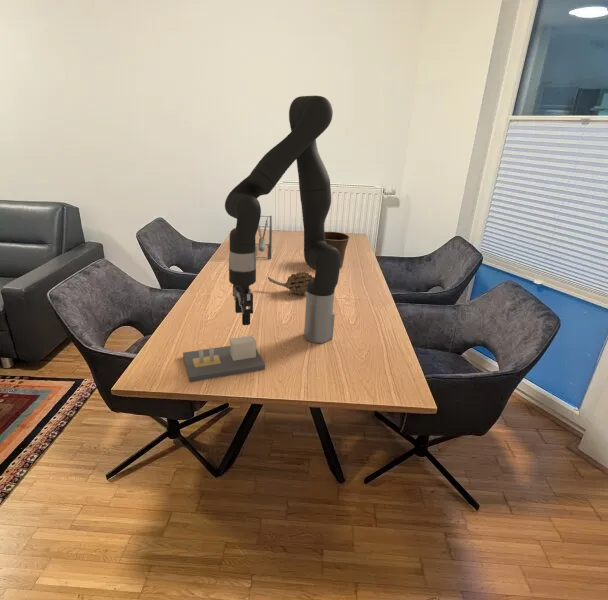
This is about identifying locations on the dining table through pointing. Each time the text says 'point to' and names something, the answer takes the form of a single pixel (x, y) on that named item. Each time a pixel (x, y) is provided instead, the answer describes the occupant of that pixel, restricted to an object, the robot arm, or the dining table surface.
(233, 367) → the board
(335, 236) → the plant pot
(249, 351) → the block
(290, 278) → the pine cone
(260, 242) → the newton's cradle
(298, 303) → the dining table surface
